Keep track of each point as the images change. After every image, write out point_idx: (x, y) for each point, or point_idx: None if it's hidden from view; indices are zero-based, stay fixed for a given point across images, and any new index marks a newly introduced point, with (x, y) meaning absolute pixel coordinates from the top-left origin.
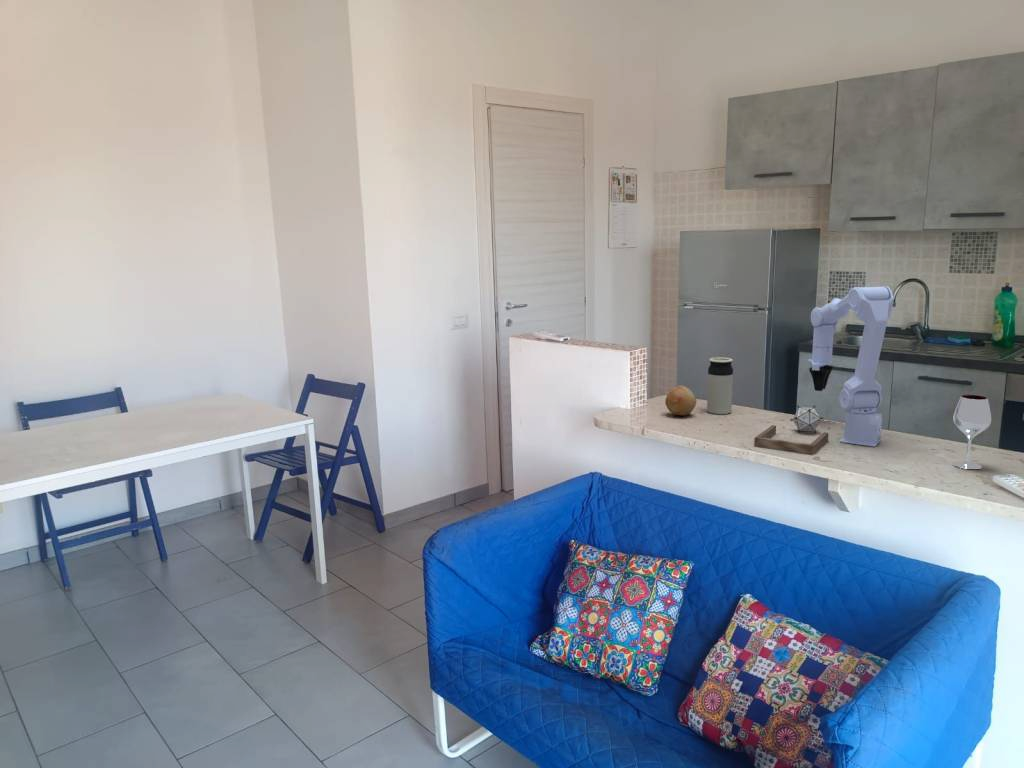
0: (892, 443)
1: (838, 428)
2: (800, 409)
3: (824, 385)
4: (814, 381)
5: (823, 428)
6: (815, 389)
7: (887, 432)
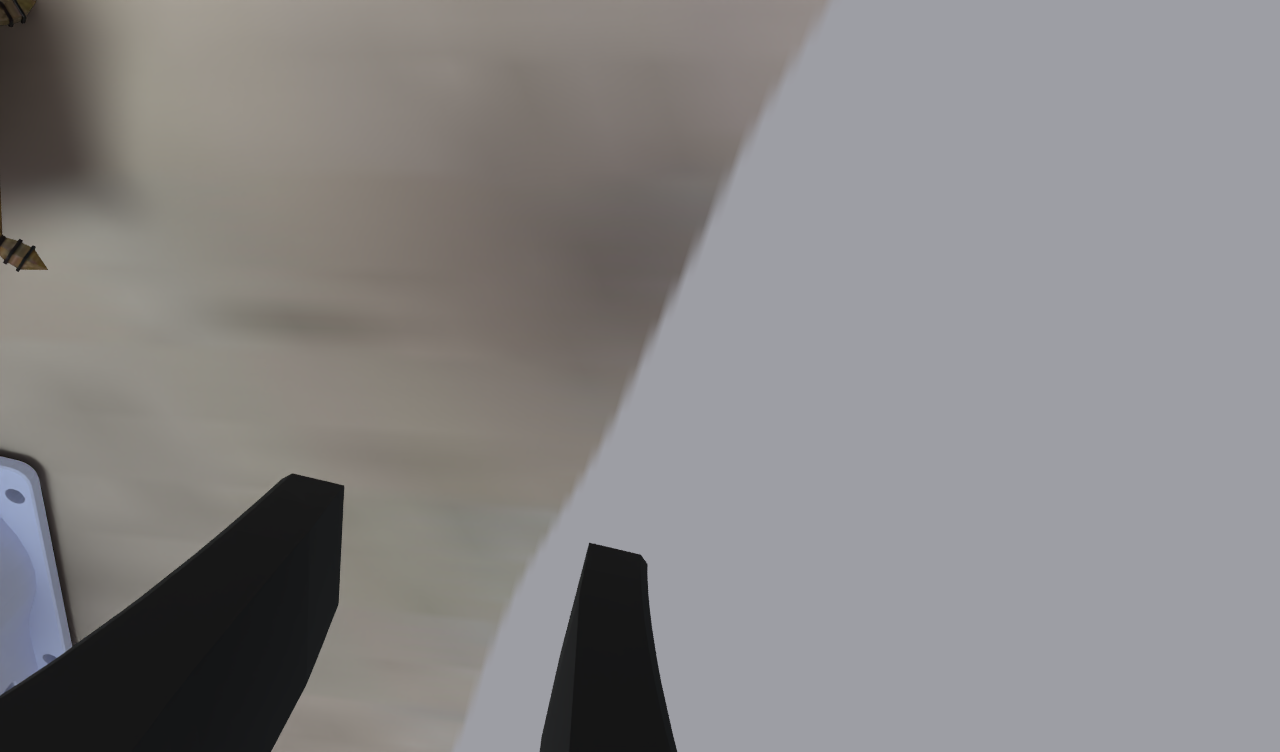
0: None
1: (351, 418)
2: None
3: (543, 732)
4: (101, 663)
5: (257, 265)
6: (270, 502)
7: (412, 746)
